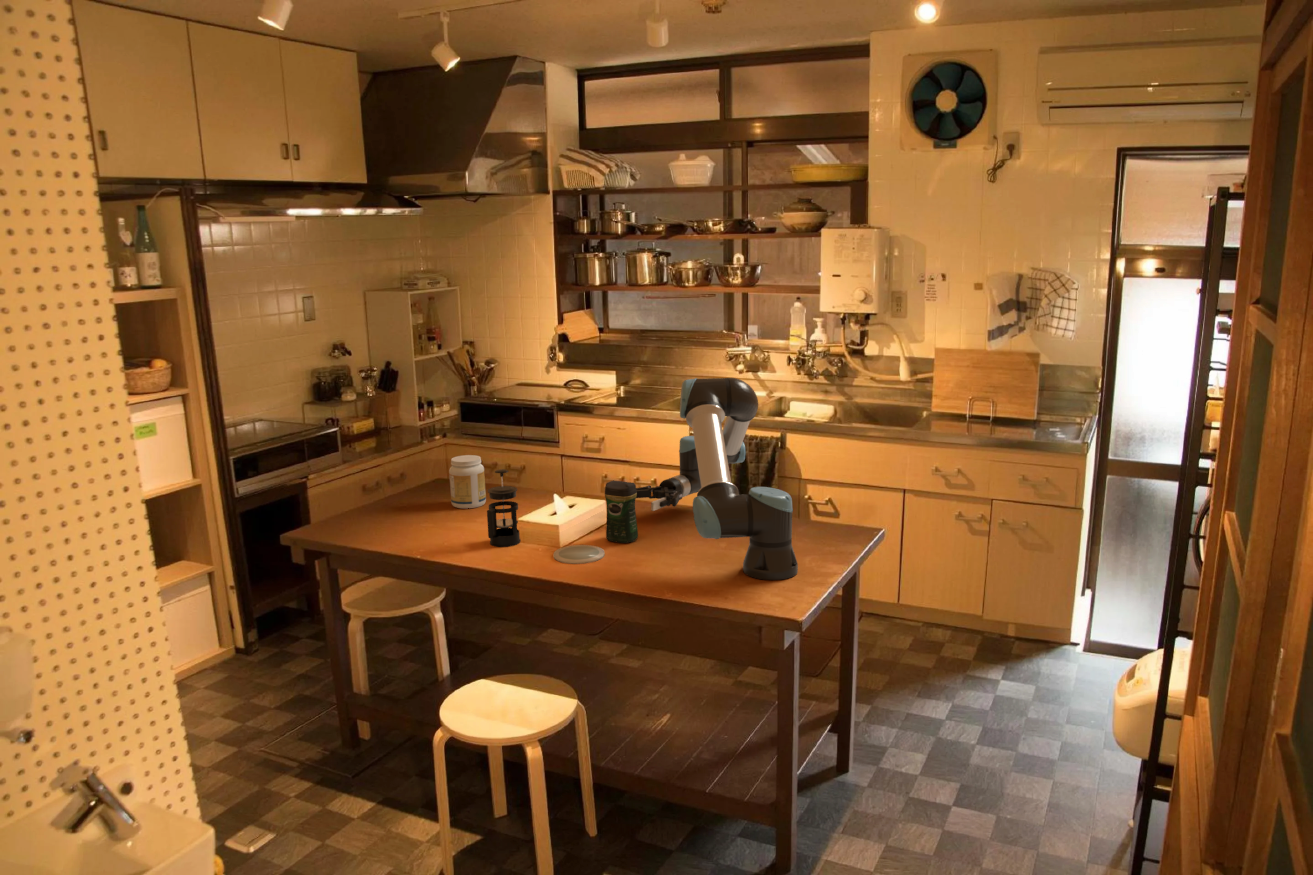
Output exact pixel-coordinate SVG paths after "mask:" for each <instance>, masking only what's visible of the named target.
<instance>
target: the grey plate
mask: <svg viewBox="0 0 1313 875" xmlns="http://www.w3.org/2000/svg"><path fill="white" fill-rule="evenodd" d="M604 557H605V550H604V549H603V548H601V547H600V546H596V545H591V544H589V545H588V544H575V545H574V544H573V545H572V544H571V545H567V546H563V547H560V548H557V549H556V550H555V551H554V552H553V559H554V560H555V561H556V562H559V563H562V564H570V565H580V564H581V565H582V564H583V565H585V564H589V563H594V562H598V561H601V559H603V558H604Z"/></svg>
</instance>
